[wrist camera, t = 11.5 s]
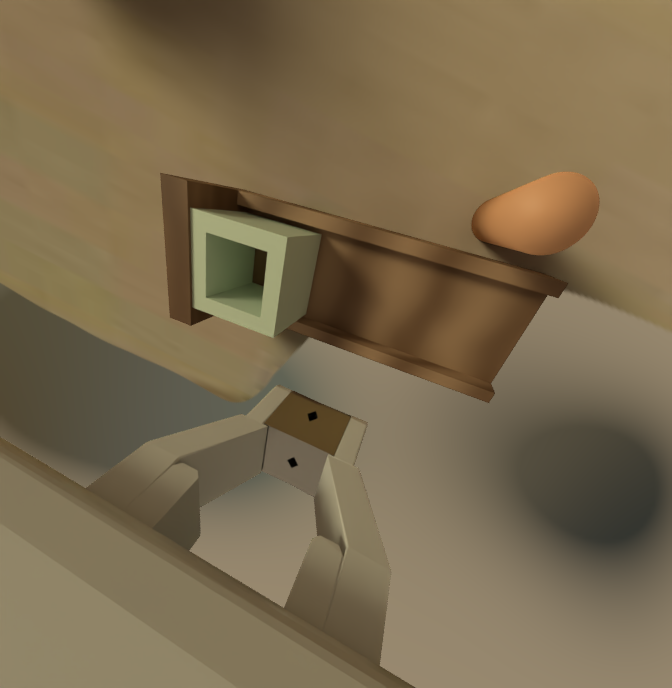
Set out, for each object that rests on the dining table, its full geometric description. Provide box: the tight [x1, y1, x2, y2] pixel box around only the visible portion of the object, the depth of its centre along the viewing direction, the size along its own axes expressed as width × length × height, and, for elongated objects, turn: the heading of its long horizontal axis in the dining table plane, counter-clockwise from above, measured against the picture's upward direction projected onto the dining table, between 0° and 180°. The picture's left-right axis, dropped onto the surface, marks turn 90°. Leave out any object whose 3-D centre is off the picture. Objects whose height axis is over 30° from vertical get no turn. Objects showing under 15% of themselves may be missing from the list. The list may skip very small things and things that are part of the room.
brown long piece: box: [160, 173, 568, 403], centre depth 20 cm, size 26×10×8 cm, turn 76°
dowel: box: [472, 172, 599, 255], centre depth 15 cm, size 3×3×10 cm
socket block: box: [190, 208, 322, 338], centre depth 21 cm, size 7×7×6 cm
